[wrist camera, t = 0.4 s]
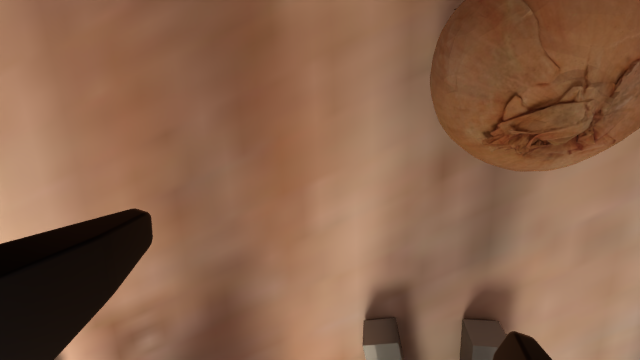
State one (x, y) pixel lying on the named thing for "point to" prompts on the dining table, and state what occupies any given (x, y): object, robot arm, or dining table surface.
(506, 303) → the dining table surface
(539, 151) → the tan round lump
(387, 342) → the arm
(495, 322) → the tongs base
